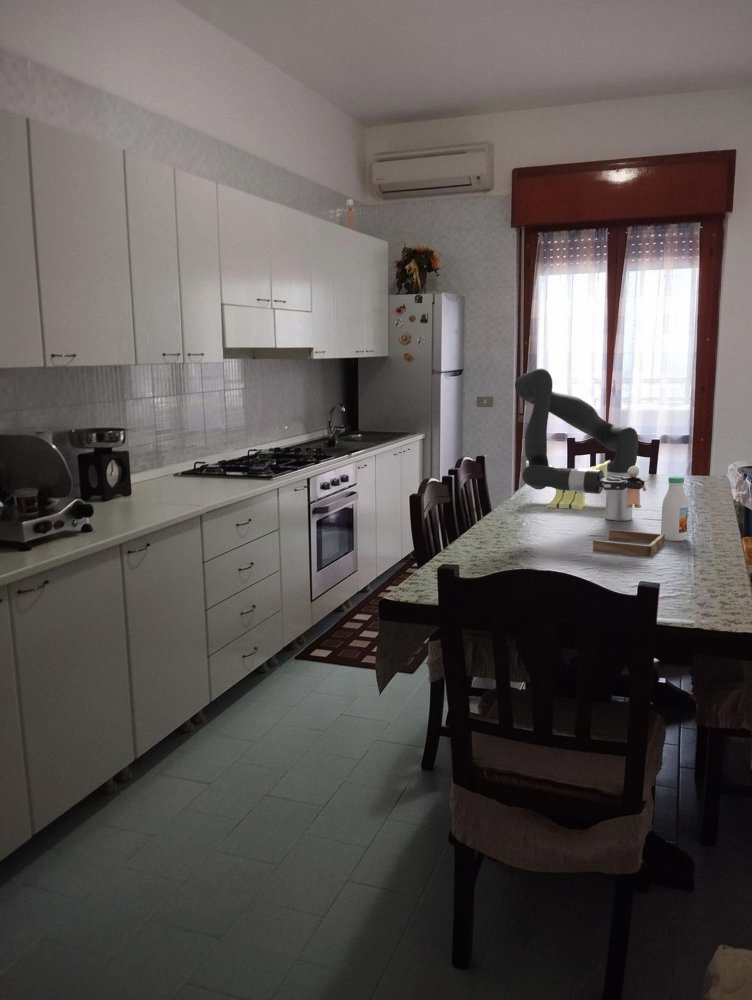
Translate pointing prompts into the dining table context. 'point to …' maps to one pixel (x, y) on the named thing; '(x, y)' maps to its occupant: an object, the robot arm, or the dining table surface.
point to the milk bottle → (675, 511)
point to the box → (634, 549)
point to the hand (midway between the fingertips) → (642, 485)
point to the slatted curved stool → (572, 493)
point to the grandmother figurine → (634, 494)
